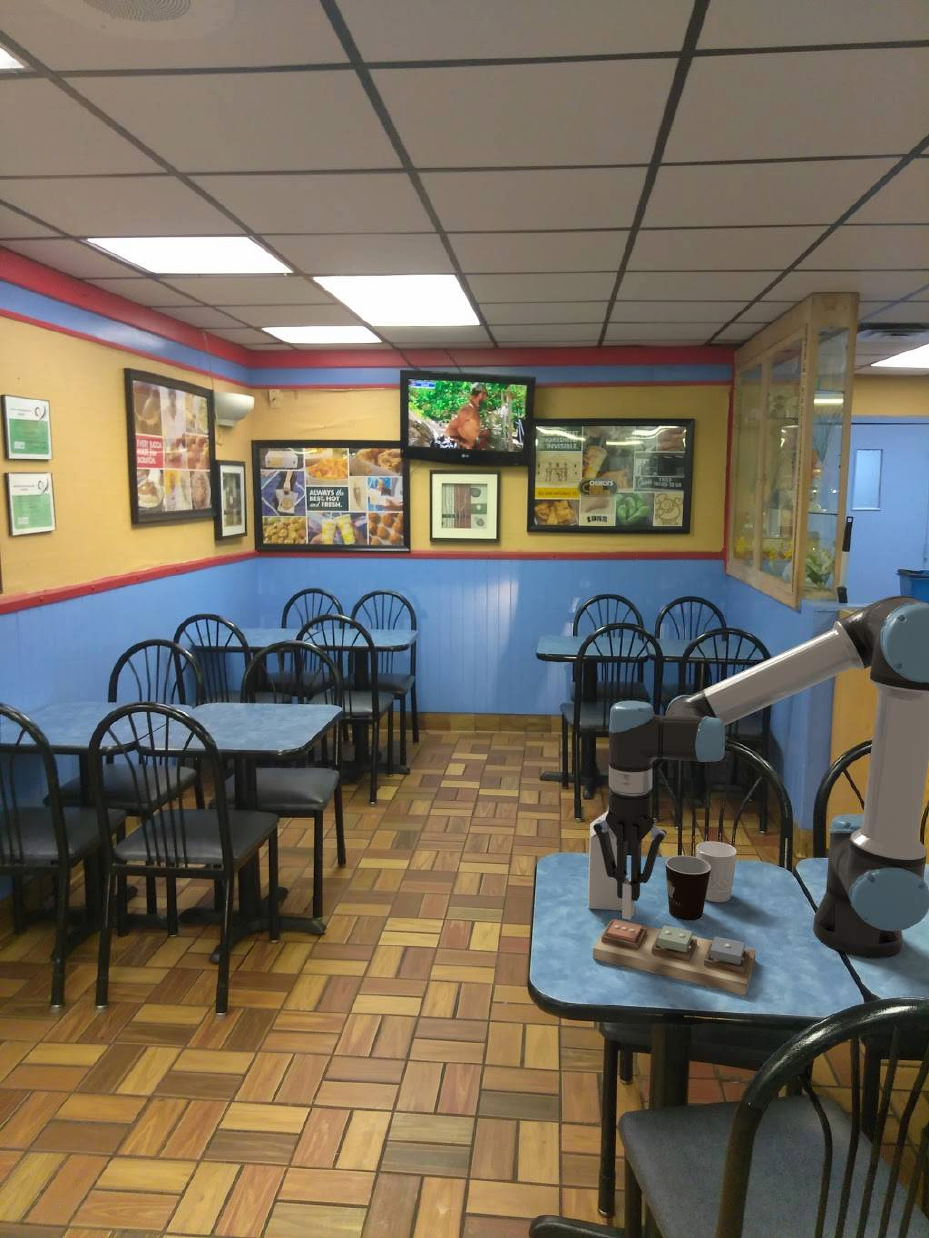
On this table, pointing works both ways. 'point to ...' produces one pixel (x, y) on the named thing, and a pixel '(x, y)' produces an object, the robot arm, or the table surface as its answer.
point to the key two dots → (674, 938)
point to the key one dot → (727, 950)
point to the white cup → (718, 869)
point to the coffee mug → (687, 886)
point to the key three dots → (625, 931)
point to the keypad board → (676, 960)
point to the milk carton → (601, 874)
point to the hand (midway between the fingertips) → (628, 915)
